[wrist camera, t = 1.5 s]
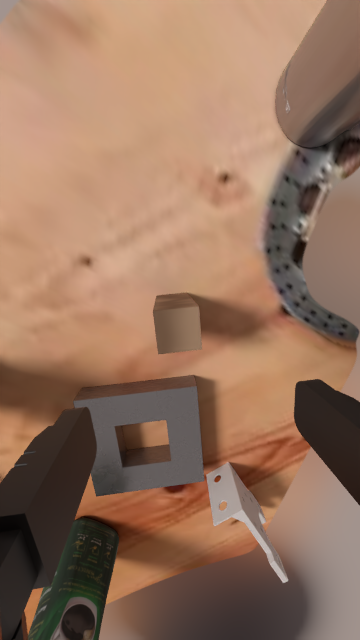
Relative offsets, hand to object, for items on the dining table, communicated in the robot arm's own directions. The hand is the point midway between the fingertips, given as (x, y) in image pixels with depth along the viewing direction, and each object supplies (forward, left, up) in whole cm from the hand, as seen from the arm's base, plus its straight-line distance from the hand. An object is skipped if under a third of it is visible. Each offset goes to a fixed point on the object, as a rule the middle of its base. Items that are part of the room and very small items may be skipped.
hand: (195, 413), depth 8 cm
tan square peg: (0, 0, -21) cm, 21 cm away
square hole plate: (+6, +18, -21) cm, 28 cm away
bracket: (-7, +32, -21) cm, 39 cm away
